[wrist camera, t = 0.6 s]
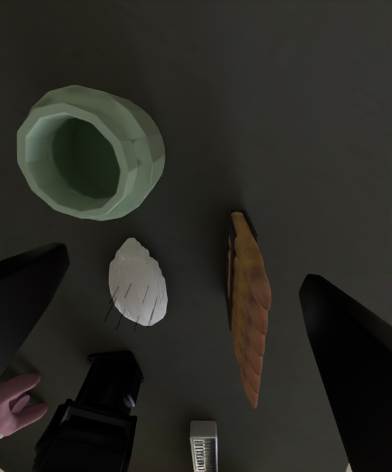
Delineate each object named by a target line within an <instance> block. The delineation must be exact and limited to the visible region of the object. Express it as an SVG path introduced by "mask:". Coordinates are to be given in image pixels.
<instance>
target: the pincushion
mask: <svg viewBox="0 0 392 472" xmlns="http://www.w3.org/2000/svg"><path fill="white" fill-rule="evenodd" d="M109 289H110V293H111V296H112V299H113V302H114V303H113V304H115V306H116V308H118V310H119V311H121V312H120V313H122V316H123V315H124V316H125V317H127V318H128V319H130V320H132V321H134V322H137V323H139V324H141V325H144V326H148V327H149V326H151V325H153V324H155V323H156V322H158V321H160V320H161V319H162V318H163V317H164V315H165V314H166V307H167V302H168V298H167V293H166V284H165V278H164V277H163V276H162V272H161V269H160V268H159V265H158V262H157V260H154V258H151V257H149V252H148V250H147V249H145V248H144V246H141V244H140V243H139V242H137V241H136V239H135V238H128V239H127V240H126V241H125V242H124V243H123V245H122V247H120V249H119V250H117V252H116V255H115V259H113V260H112V262H111V263H110V266H109ZM111 301H112V300H111ZM111 301H110V303H111ZM110 303H109V304H110ZM112 306H113V305H112ZM111 308H112V307H111ZM111 308H110V310H111ZM110 310H109V312H110ZM109 312H108V314H109ZM108 314H107V316H108ZM107 316H106V318H107ZM122 316H121V318H122ZM106 318H105V320H106ZM105 320H104V322H105ZM120 320H121V319H120ZM119 323H120V321H119ZM119 323H118V325H119ZM137 323H136V325H137ZM117 327H118V326H117ZM135 328H136V326H135ZM116 330H117V328H116ZM134 331H135V329H134Z"/></svg>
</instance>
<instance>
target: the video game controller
mask: <svg viewBox="0 0 392 472" xmlns="http://www.w3.org/2000/svg"><path fill="white" fill-rule="evenodd" d="M40 378H41V376H40V374H39V373H35V372H34V373H26V374H22V375H19V376H17V377H14V378H12V379H10V380H8V381H6V382H4V383H0V439H1V438H2V437H4V436H8V435H10V434H12V433H14V432H15V431H17V430H19V429H20V428H22V427H24V426H26V425H28V424H30V423H33V422H34V421H36V420H38V419H40V418H41V417H42V416H43V415H44V414H45V413H46V411H47V409H48V406H47V404H45V403H37V404H33V405H30V406H27V407H24V406H25V405H26V404H27V402H28V401H29V399H30V396H29V395H28V394H27V393H26V392H25V391H27V390H29V389H31V388H33V387H34V386H35V385H36V384H37V383H38V382H39V381H40ZM10 400H11V402H10V403H9V401H10ZM23 407H24V408H23Z"/></svg>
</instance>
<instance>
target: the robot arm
mask: <svg viewBox="0 0 392 472" xmlns="http://www.w3.org/2000/svg"><path fill="white" fill-rule="evenodd" d="M69 265H70V260H69V256H68V251H67V247H66V245H65V244H63V243H55V242H52V243H49V244H46V245H44V246H41V247H38V248H35V249H32V250H30V251H27V252H24V253H21V254H18V255H16V256H13V257H10V258H7V259H4V260H2V261H0V376H1V375H2V373H3V372H4V370H5V369H6V367H7V366H8V364H9V363H10V362H11V360H12V359H13V357H14V356H15V354H16V353H17V351H18V350H19V348H20V347H21V345H22V344H23V342H24V341H25V339H26V338H27V336H28V335H29V333H30V332H31V330H32V329H33V327H34V326H35V324H36V323H37V322H38V320H39V319H40V317H41V316H42V314H43V313H44V311H45V310H46V308H47V307H48V305H49V303H50V302H51V300H52V298H53V297H54V295H55V293H56V291H57V289H58V287H59V285H60V283H61V282H62V280H63V278H64V276H65V274H66V272H67V270H68V268H69ZM299 298H300V303H301V307H302V312H303V317H304V322H305V326H306V331H307V335H308V338H309V341H310V344H311V347H312V350H313V353H314V357H315V360H316V363H317V366H318V369H319V372H320V375H321V378H322V381H323V384H324V387H325V390H326V393H327V396H328V399H329V402H330V405H331V408H332V411H333V415H334V418H335V421H336V424H337V427H338V430H339V433H340V436H341V439H342V442H343V445H344V448H345V451H346V454H347V457H348V460H349V463H350V466H351V469H352V472H392V326H391V325H390V324H388V323H387V322H386V321H384V320H383V319H381V318H380V317H378V316H377V315H376V314H374V313H373V312H371V311H370V310H369V309H367V308H366V307H364V306H363V305H361V304H360V303H359V302H357V301H356V300H354V299H353V298H352V297H350V296H349V295H347V294H346V293H344V292H343V291H342V290H340V289H339V288H337V287H336V286H335V285H333V284H332V283H330V282H329V281H327V280H326V279H325V278H323V277H322V276H320V275H315V274H308V275H307V276H306V277H305V279H304V282H303V284H302V286H301V288H300V291H299ZM87 361H88V363H89V364H90V366H91V368H90V370H89V372H88V374H87V376H86V379H85V381H84V383H83V385H82V387H81V389H80V391H79V394H78V396H77V398H76V400H75V401H72V399H67V400H66V402H65V403H64V404H61V405H59V406H58V408H57V410H56V412H55V414H54V416H53V418H52V420H51V422H50V423H49V425H48V426H47V428H46V430H45V431H44V433H43V434H42V436H41V438H40V439H39V441H38V442H37V444H36V446H35V448H34V454H35V460H34V462H33V463H34V465H33V468H32V471H31V472H127V470H128V467H129V463H130V458H131V453H132V447H133V441H134V435H135V429H136V422H137V416H134V415H133V416H130V411H131V407H134V406H135V405H136V401H137V397H138V392H139V388H140V384H141V383H142V382H143V380H144V377H143V375H142V372H141V370H140V368H139V366H138V364H137V362H136V360H135V358H134V356H133V354H132V352H130V351H126V352H116V353H106V354H95V355H89V356H88V358H87Z"/></svg>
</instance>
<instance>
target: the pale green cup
mask: <svg viewBox="0 0 392 472" xmlns="http://www.w3.org/2000/svg"><path fill="white" fill-rule="evenodd" d="M17 162H18V165H19V167H20V169H21V170H22V172H23V174H24V176H25V178H26V180H27V182H28V184H29V186H30V188H31V190H32V191H33V192H34V193H36V194H37V195H38V196H39V197H40V198H41V199H43V200H44V201H45V202H46V203H47V204H48V205H50V206H51V207H52V208H53V209H54V210H56V211H59V212H62V213H65V214H69V215H72V216H75V217H78V218H82V219H83V218H89V219H94V220H99V221H104V220H109V219H115V218H121V217H123V216H125V215H126V214H128V213H129V212H131V211H132V210H134V209H135V208H137V207H138V206H139V205H140V204H141V203H142V202H143V200H144V199H145V198H146V197H147V195H148V194H149V193H150V192H151V190H152V189H153V188H154V186H155V185H156V183H157V181H158V180H159V178H160V176H161V175H162V173H163V169H164V164H165V147H164V142H163V139H162V136H161V133H160V131H159V129H158V127H157V125H156V124H155V122H154V121H153V119H152V118H151V117H150V116H149V115H148V114H147V113H146V112H145V111H144V110H143V109H142V108H140V107H139V106H137V105H136V104H134V103H133V102H131V101H130V100H128V99H125V98H121V97H118V96H115V95H112V94H109V93H106V92H103V91H99V90H95V89H91V88H86V87H82V86H78V85H72V86H68V87H64V88H60V89H56V90H52V91H49V92H47V93H46V94H45V95H44V96H43V97H42V98H41V99H40V100H39V101H38V102H37V103H36V104H35V105H34V106H33V107H32V108H31V110H30V113H29V116H28V117H27V119H26V120H25V121H24V123H23V124H22V126H21V127H20V128H19V130H18V131H17Z"/></svg>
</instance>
